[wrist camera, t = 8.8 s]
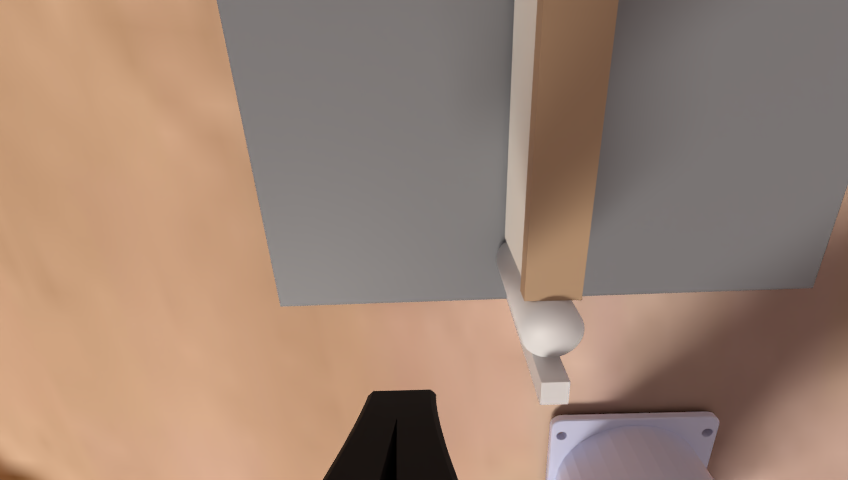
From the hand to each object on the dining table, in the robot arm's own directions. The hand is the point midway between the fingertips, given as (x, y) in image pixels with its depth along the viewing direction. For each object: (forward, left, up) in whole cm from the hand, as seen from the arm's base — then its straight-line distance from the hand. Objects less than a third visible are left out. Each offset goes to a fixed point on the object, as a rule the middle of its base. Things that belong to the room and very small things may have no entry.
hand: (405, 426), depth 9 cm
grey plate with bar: (+6, -5, -9) cm, 12 cm away
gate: (+6, -4, -8) cm, 11 cm away
